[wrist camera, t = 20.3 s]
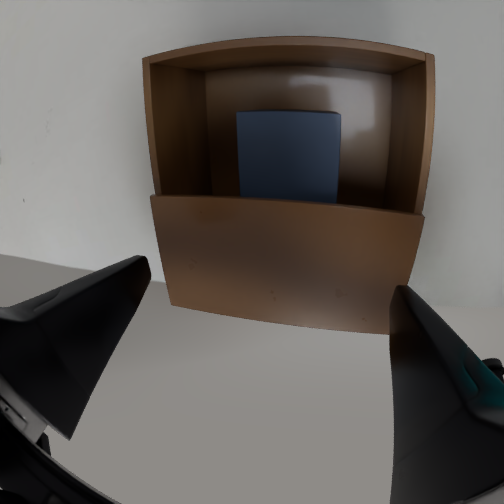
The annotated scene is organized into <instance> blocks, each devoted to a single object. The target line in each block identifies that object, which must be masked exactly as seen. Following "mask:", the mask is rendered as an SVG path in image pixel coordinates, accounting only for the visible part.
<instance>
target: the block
mask: <svg viewBox="0 0 504 504" xmlns="http://www.w3.org/2000/svg"><path fill="white" fill-rule="evenodd" d="M236 120H237V143H238V164H239V185H240V197H255V198H272V199H286V200H299V201H312V202H323V203H333V204H336V203H337V191H338V177H339V161H340V140H341V114H339V113H337V112H331V111H316V110H293V109H258V110H248V111H239V112H236Z"/></svg>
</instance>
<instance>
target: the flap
mask: <svg viewBox="0 0 504 504" xmlns="http://www.w3.org/2000/svg"><path fill="white" fill-rule="evenodd" d="M150 201H151V208H152V214H153V220H154V226H155V231H156V237H157V242H158V247H159V252H160V257H161V262H162V267H163V272H164V276H165V281H166V285H167V289H168V293H169V298H170V302H171V305H173V306H178V307H184V308H189V309H193V310H199V311H204V312H209V313H215V314H220V315H226V316H232V317H239V318H244V319H251V320H257V321H264V322H271V323H278V324H286V325H293V326H301V327H309V328H318V329H328V330H337V331H348V332H359V333H372V334H387V335H389V306H390V302H391V299H392V296H393V293H394V290H395V287H396V286H397V285H407V284H408V281H409V278H410V275H411V271H412V268H413V264H414V260H415V257H416V253H417V249H418V245H419V241H420V237H421V233H422V228H423V224H424V219H425V217H424V215H423V214H416V213H409V212H402V211H394V210H387V209H379V208H371V207H362V206H353V205H343V204H333V203H323V202H312V201H299V200H286V199H272V198H255V197H235V196H210V195H160V194H153V195H151V196H150Z"/></svg>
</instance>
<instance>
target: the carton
mask: <svg viewBox="0 0 504 504" xmlns="http://www.w3.org/2000/svg"><path fill="white" fill-rule="evenodd" d="M142 64H143V86H144V101H145V113H146V124H147V134H148V143H149V152H150V160H151V168H152V175H153V182H154V189H155V194H160V195H210V196H235V197H240V185H239V164H238V143H237V120H236V112H239V111H248V110H258V109H293V110H316V111H331V112H337V113H339V114H341V140H340V161H339V177H338V191H337V203H336V204H343V205H353V206H362V207H371V208H379V209H387V210H394V211H402V212H409V213H416V214H422V210H423V205H424V200H425V194H426V188H427V182H428V176H429V169H430V161H431V152H432V143H433V131H434V115H435V58H434V55H433V54H429V53H425V52H422V51H418V50H414V49H409V48H405V47H400V46H395V45H390V44H384V43H378V42H371V41H364V40H356V39H346V38H335V37H317V36H274V37H257V38H245V39H235V40H226V41H219V42H212V43H206V44H200V45H195V46H190V47H185V48H180V49H175V50H171V51H167V52H163V53H159V54H155V55H151V56H148V57H144V58H142Z"/></svg>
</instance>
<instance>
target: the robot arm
mask: <svg viewBox="0 0 504 504" xmlns="http://www.w3.org/2000/svg"><path fill="white" fill-rule="evenodd" d="M150 280H151V271H150V267H149V263H148V260H147V258H146V257H145V256H140V255H136V256H133V257H130V258H128V259H125V260H123V261H120V262H118V263H115V264H113V265H111V266H108V267H106V268H103V269H101V270H98V271H96V272H93V273H91V274H89V275H86V276H84V277H82V278H79V279H77V280H74V281H72V282H70V283H67V284H65V285H63V286H60V287H58V288H56V289H53V290H51V291H49V292H47V293H44V294H41V295H39V296H36V297H34V298H31V299H29V300H26V301H24V302H21V303H18V304H16V305H13V306H10V307H0V487H1V488H2V489H3V490H0V504H121V503H119V502H117V501H115V500H114V499H112V498H110V497H108V496H107V495H105V494H103V493H102V492H100V491H98V490H97V489H95V488H93V487H92V486H91V485H89V484H87V483H86V482H84V481H83V480H81V479H80V478H79V477H77V476H76V475H74V474H73V473H72V472H70V471H69V470H67V469H66V468H65V467H63V466H62V465H61V464H60V463H58V462H57V461H56V460H54V459H53V458H52V457H51V452H50V446H49V440H48V436H47V435H46V434H45V433H44V432H43V431H44V430H45V428H46V427H47V425H49V426H50V427H51V428H52V429H54V430H55V431H56V432H58V433H59V434H60V435H62V436H63V437H64V438H66V439H67V440H70V439H71V437H72V435H73V433H74V431H75V429H76V426H77V424H78V422H79V419H80V417H81V415H82V413H83V411H84V409H85V407H86V405H87V403H88V401H89V398H90V396H91V394H92V392H93V390H94V388H95V386H96V384H97V382H98V380H99V378H100V376H101V374H102V372H103V370H104V368H105V367H106V365H107V363H108V361H109V359H110V357H111V355H112V353H113V351H114V350H115V348H116V346H117V344H118V342H119V340H120V339H121V337H122V335H123V333H124V332H125V330H126V328H127V326H128V324H129V323H130V321H131V319H132V317H133V316H134V314H135V312H136V310H137V308H138V306H139V304H140V302H141V300H142V297H143V295H144V293H145V291H146V289H147V287H148V285H149V283H150ZM389 335H390V340H389V341H390V343H389V345H390V360H391V371H392V386H393V406H394V456H393V473H392V474H393V475H392V487H391V497H390V504H504V379H503V375H504V367H501V368H491V369H489V368H488V367H487V366H486V365H485V364H484V363H483V362H482V361H481V360H480V359H479V358H478V357H477V355H476V354H475V353H474V352H473V351H472V350H471V349H470V348H469V347H468V346H467V344H466V343H465V342H464V341H463V340H462V339H461V338H460V337H459V336H458V335H457V334H456V333H455V332H454V331H453V329H451V327H450V326H449V325H447V323H446V322H445V321H444V320H443V319H442V318H441V317H440V316H439V315H438V314H437V313H436V312H435V311H434V310H433V309H432V308H431V307H430V306H429V305H428V304H427V303H426V302H425V301H424V300H423V299H422V298H421V297H420V296H419V295H418V294H417V293H416V292H414V291H413V290H412V289H411V288H410V287H409V286H408V285H397V286H396V287H395V290H394V293H393V296H392V299H391V302H390V306H389ZM467 347H468V348H467Z"/></svg>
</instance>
